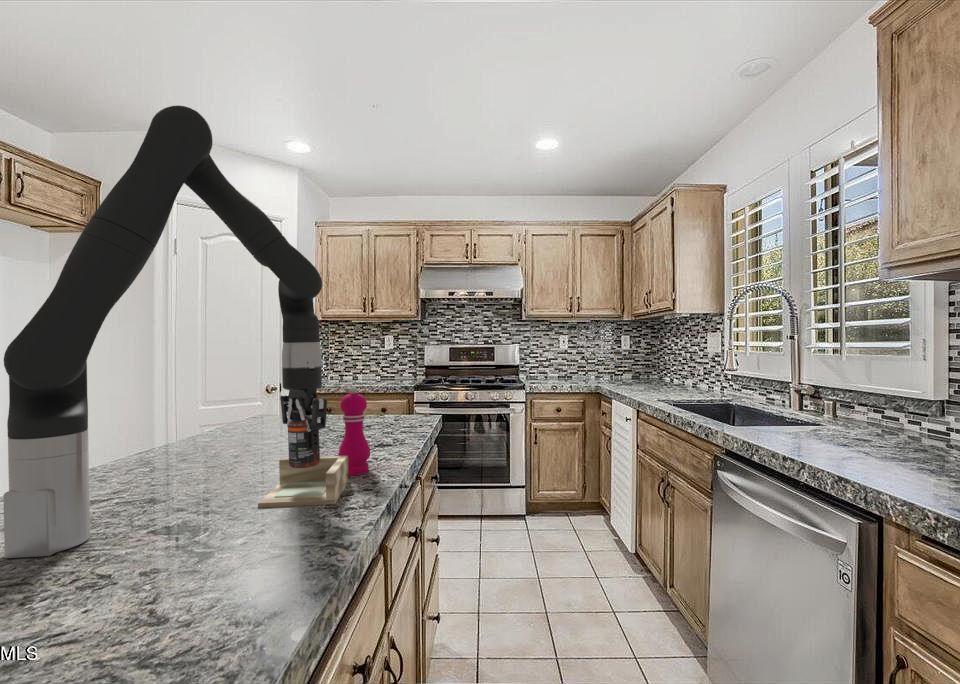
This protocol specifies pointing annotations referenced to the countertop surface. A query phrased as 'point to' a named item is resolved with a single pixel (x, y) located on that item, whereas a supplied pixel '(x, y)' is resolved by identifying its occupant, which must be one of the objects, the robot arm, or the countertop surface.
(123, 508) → the countertop surface
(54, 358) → the robot arm
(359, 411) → the pepper mill
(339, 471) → the tray
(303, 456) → the supplement bottle
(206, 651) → the countertop surface
